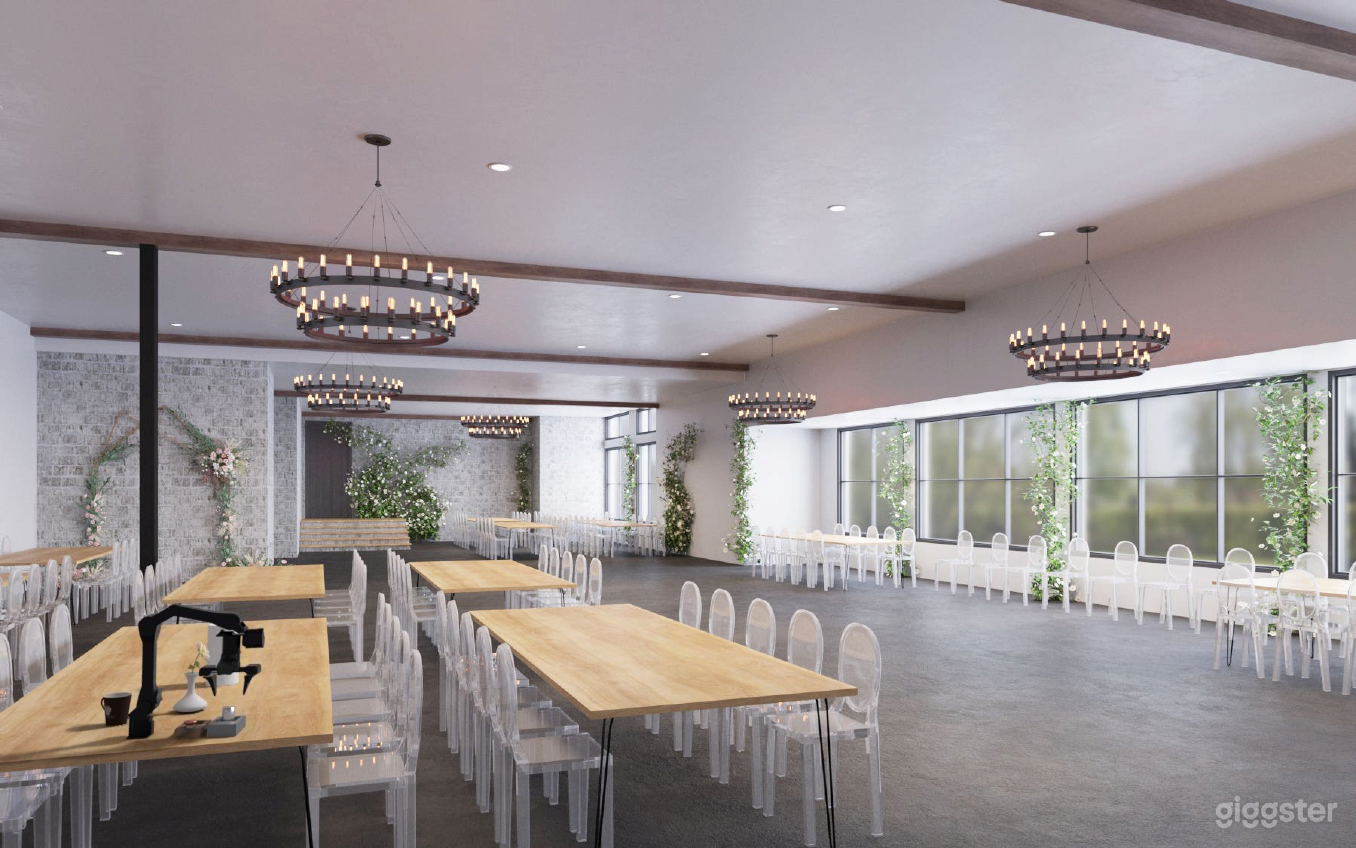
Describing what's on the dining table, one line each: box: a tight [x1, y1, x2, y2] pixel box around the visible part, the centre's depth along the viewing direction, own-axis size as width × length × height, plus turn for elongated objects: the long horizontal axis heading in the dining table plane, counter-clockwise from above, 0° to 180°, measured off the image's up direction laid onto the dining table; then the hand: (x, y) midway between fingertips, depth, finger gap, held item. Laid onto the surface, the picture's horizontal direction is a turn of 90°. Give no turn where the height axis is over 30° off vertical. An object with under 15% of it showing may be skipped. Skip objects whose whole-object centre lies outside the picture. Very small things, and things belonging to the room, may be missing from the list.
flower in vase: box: [172, 641, 210, 713], centre depth 344 cm, size 13×11×25 cm
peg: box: [221, 705, 236, 721], centre depth 315 cm, size 4×4×8 cm
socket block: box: [173, 719, 213, 740], centre depth 311 cm, size 8×12×3 cm, turn 11°
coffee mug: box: [100, 691, 133, 727], centre depth 324 cm, size 12×9×10 cm
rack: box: [206, 714, 247, 738], centre depth 313 cm, size 9×12×4 cm
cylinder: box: [205, 623, 240, 688], centre depth 392 cm, size 12×12×25 cm
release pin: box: [183, 719, 198, 728], centre depth 308 cm, size 4×4×4 cm
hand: (229, 695), depth 315 cm, fingers open, 9 cm apart
